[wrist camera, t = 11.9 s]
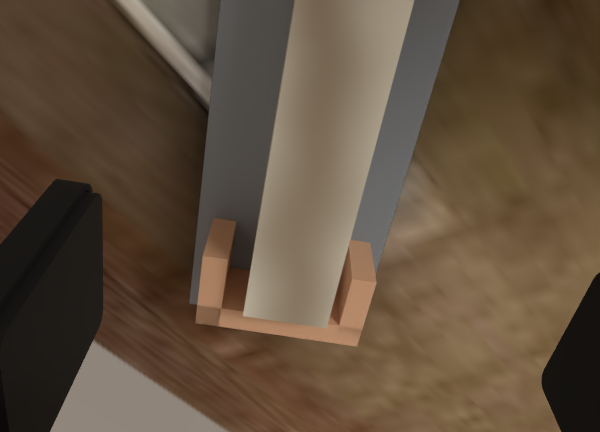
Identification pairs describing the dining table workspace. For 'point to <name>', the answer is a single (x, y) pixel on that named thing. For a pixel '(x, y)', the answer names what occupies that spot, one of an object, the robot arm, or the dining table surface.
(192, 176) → the dining table surface
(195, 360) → the dining table surface
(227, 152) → the board
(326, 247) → the slat
